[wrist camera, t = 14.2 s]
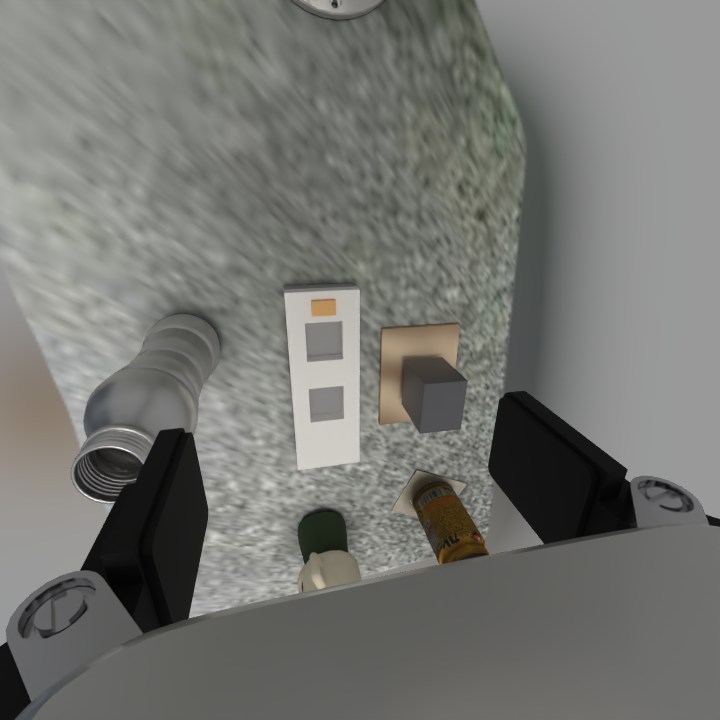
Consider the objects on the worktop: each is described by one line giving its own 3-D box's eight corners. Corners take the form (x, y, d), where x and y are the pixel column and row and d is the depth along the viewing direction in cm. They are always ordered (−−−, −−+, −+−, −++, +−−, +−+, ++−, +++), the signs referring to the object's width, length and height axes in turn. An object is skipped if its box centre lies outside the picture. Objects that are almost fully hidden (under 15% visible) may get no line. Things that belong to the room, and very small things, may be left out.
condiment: (440, 521, 55) (481, 601, 44) (390, 509, 52) (422, 592, 41) (466, 482, 53) (515, 555, 42) (416, 468, 50) (456, 543, 39)
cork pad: (381, 328, 41) (382, 329, 40) (458, 322, 43) (460, 324, 42) (378, 422, 46) (379, 424, 45) (448, 414, 47) (449, 416, 47)
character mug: (279, 508, 48) (281, 610, 36) (331, 486, 48) (351, 579, 36) (311, 561, 52) (323, 665, 41) (359, 540, 53) (384, 637, 41)
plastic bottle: (148, 365, 37) (34, 524, 19) (156, 300, 35) (34, 409, 17) (217, 377, 39) (172, 530, 21) (228, 315, 37) (188, 428, 19)
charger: (401, 355, 42) (424, 384, 36) (438, 353, 43) (467, 380, 37) (398, 398, 44) (419, 433, 38) (433, 395, 45) (460, 429, 39)
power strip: (283, 285, 37) (284, 294, 34) (353, 282, 38) (361, 290, 35) (296, 453, 45) (298, 473, 42) (354, 446, 46) (360, 465, 43)
